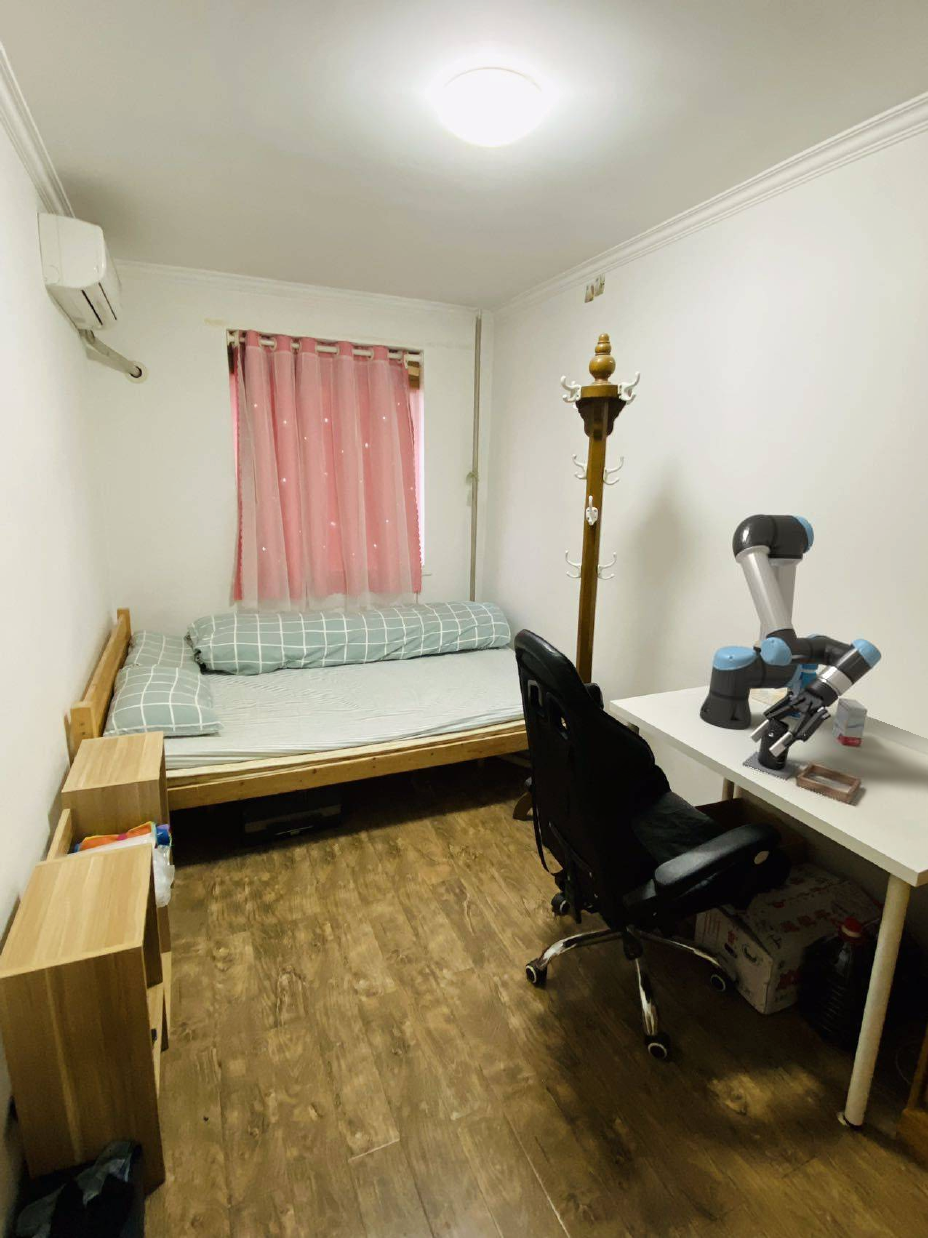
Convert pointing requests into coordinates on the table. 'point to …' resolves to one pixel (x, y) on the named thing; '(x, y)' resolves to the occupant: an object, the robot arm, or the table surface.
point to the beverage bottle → (803, 683)
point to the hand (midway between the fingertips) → (762, 745)
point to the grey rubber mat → (782, 773)
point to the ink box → (849, 722)
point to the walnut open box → (828, 790)
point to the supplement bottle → (768, 740)
